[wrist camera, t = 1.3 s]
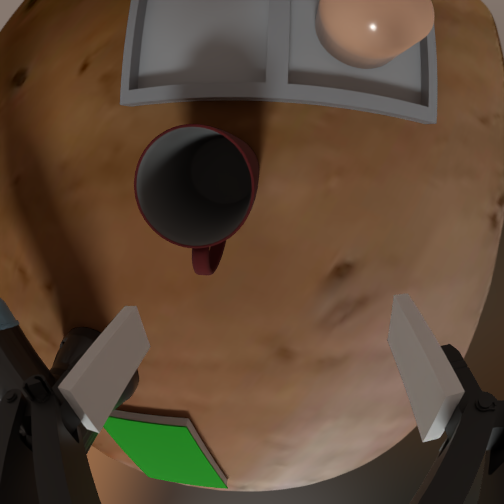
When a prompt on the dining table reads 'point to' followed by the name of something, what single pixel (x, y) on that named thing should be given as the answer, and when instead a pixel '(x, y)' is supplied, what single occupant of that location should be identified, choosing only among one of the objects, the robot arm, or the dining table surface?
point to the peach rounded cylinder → (371, 29)
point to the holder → (263, 60)
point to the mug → (197, 189)
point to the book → (165, 448)
